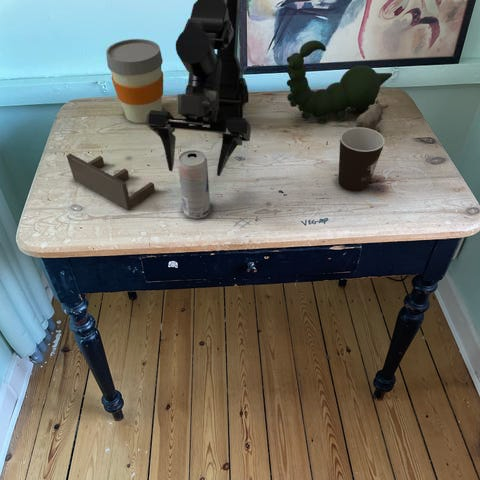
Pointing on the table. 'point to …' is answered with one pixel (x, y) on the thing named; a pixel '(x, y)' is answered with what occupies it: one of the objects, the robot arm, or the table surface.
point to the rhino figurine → (371, 116)
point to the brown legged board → (107, 182)
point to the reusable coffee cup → (137, 76)
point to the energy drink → (194, 183)
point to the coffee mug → (358, 157)
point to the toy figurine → (332, 87)
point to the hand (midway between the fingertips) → (194, 173)
